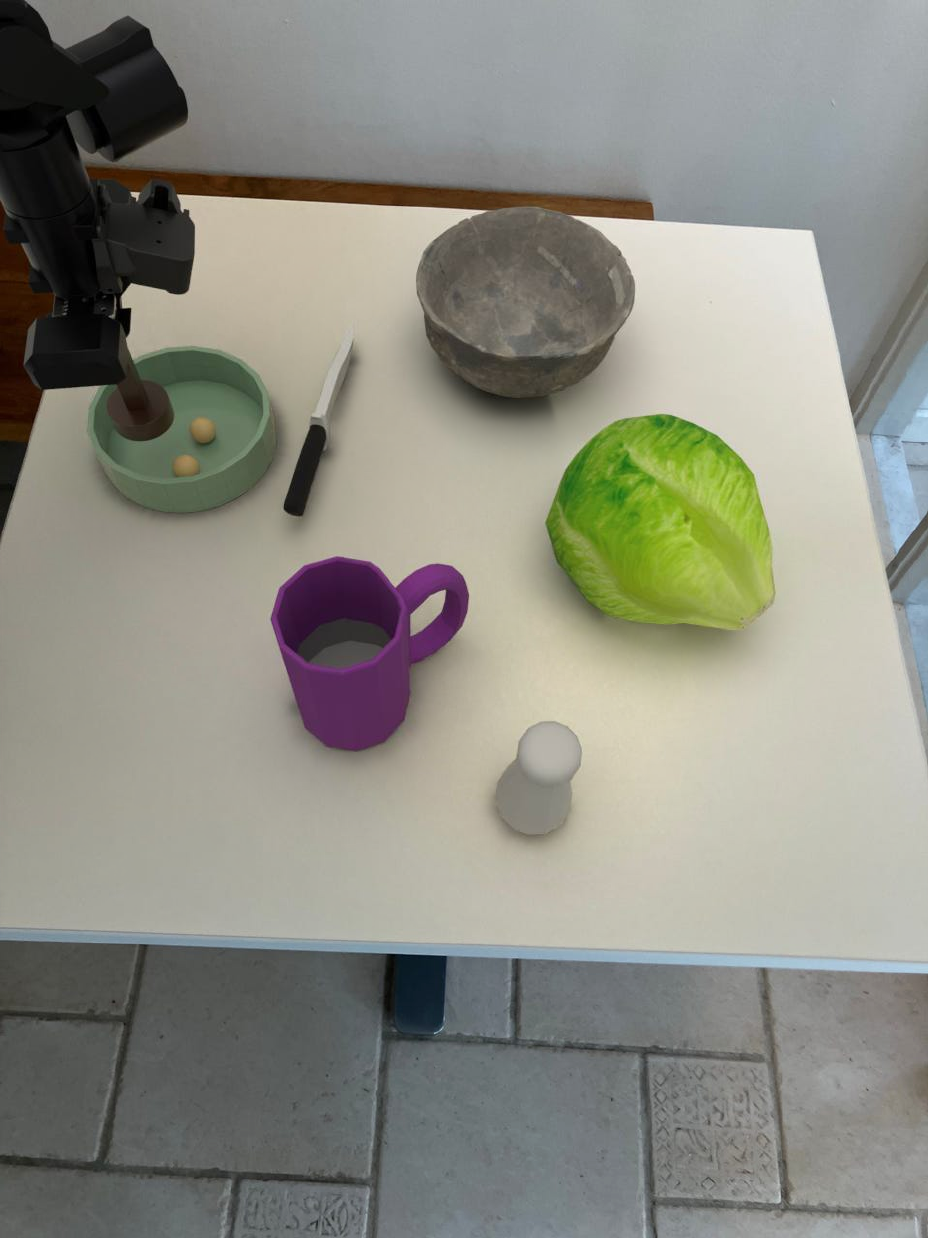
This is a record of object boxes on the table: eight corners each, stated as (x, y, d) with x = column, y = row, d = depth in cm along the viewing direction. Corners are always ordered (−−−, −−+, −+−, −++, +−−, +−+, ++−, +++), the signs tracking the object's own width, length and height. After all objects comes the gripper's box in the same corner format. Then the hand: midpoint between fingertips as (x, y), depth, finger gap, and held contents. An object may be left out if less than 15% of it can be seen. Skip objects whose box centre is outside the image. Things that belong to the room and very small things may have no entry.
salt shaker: (481, 824, 68) (493, 769, 56) (508, 758, 71) (524, 693, 59) (553, 854, 67) (579, 803, 56) (577, 786, 70) (607, 725, 58)
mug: (276, 688, 73) (243, 597, 59) (430, 594, 77) (432, 491, 64) (336, 776, 69) (316, 700, 56) (494, 672, 74) (509, 579, 61)
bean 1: (175, 487, 81) (169, 471, 79) (176, 466, 82) (169, 450, 80) (202, 485, 82) (196, 468, 79) (202, 464, 83) (196, 448, 81)
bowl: (467, 262, 98) (472, 180, 89) (642, 324, 94) (665, 244, 86) (381, 389, 89) (376, 310, 80) (572, 462, 85) (589, 388, 76)
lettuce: (657, 709, 75) (705, 656, 61) (503, 543, 81) (515, 459, 66) (790, 594, 79) (865, 518, 65) (635, 442, 84) (673, 342, 70)
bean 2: (192, 449, 83) (186, 432, 81) (192, 429, 85) (186, 412, 82) (218, 447, 84) (213, 430, 82) (218, 427, 85) (212, 410, 83)
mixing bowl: (98, 521, 80) (81, 490, 76) (107, 386, 87) (92, 352, 83) (280, 504, 81) (272, 474, 77) (273, 373, 89) (265, 340, 85)
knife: (346, 338, 92) (342, 300, 87) (363, 340, 92) (360, 302, 87) (285, 536, 80) (277, 503, 75) (305, 539, 80) (298, 506, 75)
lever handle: (112, 444, 76) (65, 348, 66) (115, 398, 78) (70, 299, 68) (174, 438, 76) (136, 343, 66) (175, 393, 79) (139, 294, 69)
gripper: (168, 281, 54) (221, 446, 68) (174, 98, 63) (220, 277, 76) (-21, 294, 53) (72, 458, 67) (11, 105, 62) (88, 285, 75)
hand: (119, 363), depth 71 cm, fingers closed on lever handle
